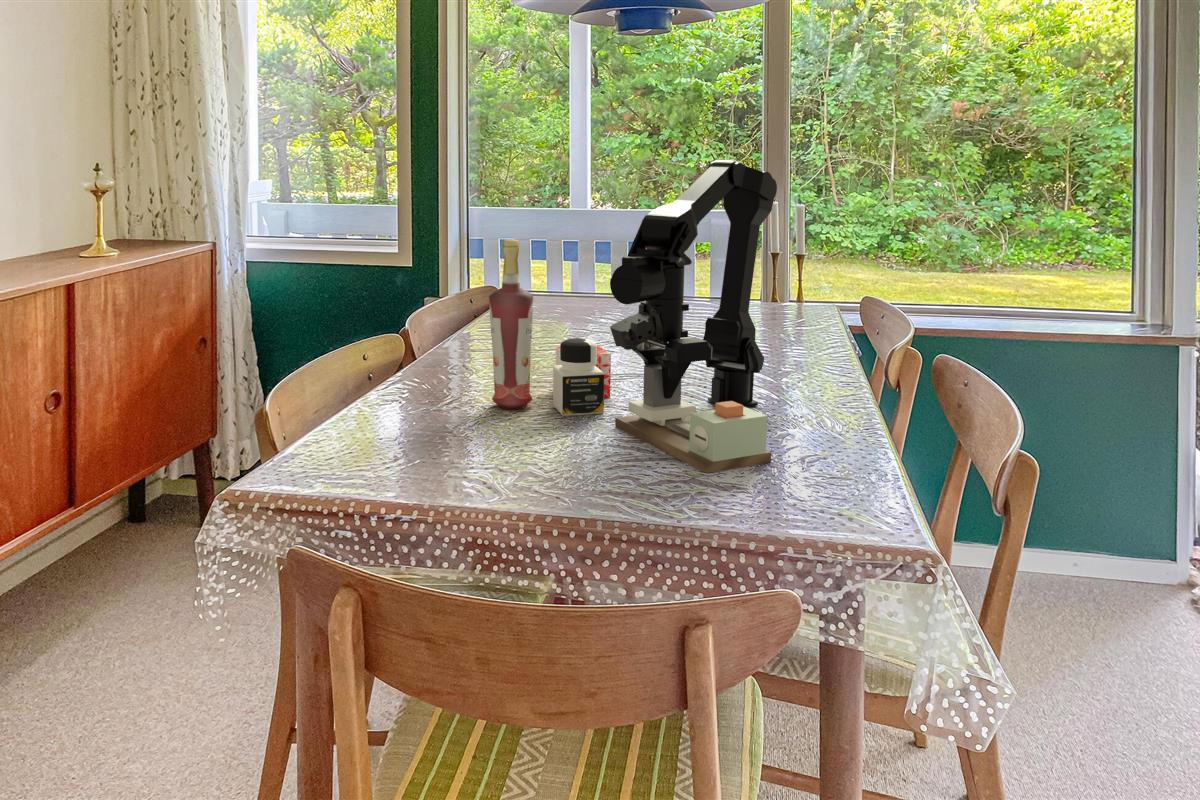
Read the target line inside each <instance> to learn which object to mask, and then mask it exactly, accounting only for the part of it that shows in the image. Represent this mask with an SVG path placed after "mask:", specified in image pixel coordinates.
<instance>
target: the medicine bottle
mask: <svg viewBox="0 0 1200 800" xmlns="http://www.w3.org/2000/svg"><path fill="white" fill-rule="evenodd" d="M597 345H598V344H597V343H596V342H595V341H594V340H592V339H589V338H582V337H579V338H578V337H577V338H576V337H575V338H574V337H573V338H567V339H565V340H563V341H561V343H560V344H559V346H560V364H561V365H556V364H555V365H554V366H553V367H552V405H553V407H554V408H555V409H556V410H557V411H558V412H559V413H560V415H562V416H563V417H570V416H585V415H602V414H603V415H604V411H605V407H604V406H605V403H604V402H605V398H604V373H603V372H602V371H601V370H600V369H599V368H597V367H596V366H595V365H596V359H597Z"/></svg>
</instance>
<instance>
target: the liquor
mask: <svg viewBox="0 0 1200 800" xmlns="http://www.w3.org/2000/svg"><path fill="white" fill-rule="evenodd" d="M501 243H502V254H503V270H502V271H503V272H502V281H501V282H502V283H501V287H500V288H499V289H495V290H494V291H493V292H492V293H491V294H490V295H489V296H488V301H489V302H488V303H489V304H488V305H489V317H490V318H489V321H490V335H491V348H492V361H493V362H492V363H493V387H494V394H493V396H492V398H491V400H492V402H493V403H495V404H496V405H497V406H498V407H499V408H500V409H502V410H512V411H513V410H520V409H521V410H522V409H524V408H525V407H527V406H528V405H529V404H530V403H531V402H532V401H533V397H532V395H531V357H532V356H531V355H532V353H531V352H532V336H533V311H534V310H533V308H534V295H533V294H532V293H530V291H528V290H527V289H524V288H521V282H520V281H521V280H520V273H519V262H518V257H519V251H520V248H519V246H520V245H519V244H520V243H519V240H518V239H504V240H502V241H501Z"/></svg>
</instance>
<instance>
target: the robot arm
mask: <svg viewBox="0 0 1200 800" xmlns="http://www.w3.org/2000/svg"><path fill="white" fill-rule="evenodd" d="M777 191H778V186H777V181H776V179H774V177H773V176H772V174H771V173H770V172H768V171H762V170H759V169H756V168H753V167H749V166H747V165H744V164H743V163H742V162H739V161H737V160H721V159H720V160H718V159H716V160H714V161H712V162H710V163H709V164H708V166H707V169H706V170H705V171H704V172H703V173H702V174H701V175H700V176H699V177H698V178H697V179H695V181H694V182H693V183H692V184H690V186H689V187H688V188H687V189H686V190H685V191H684V192H683V193H682V194H681V195H679V197H678V198H677V199H675V200H674V201H673V202H670V203H667V204H664V205H660V206H658V207H656V208H654V209H653V210H652V211H650V212H648V213H647V214H646V215H644V217H643V219H642V220H641V223H640V225H639V227H638V230H637V232H636V235H635V237H634V239H633V242H632V244H631V247H630V249H629V251H628V253H627V256H622V258H621V265H619V266H618V267H617V268H616V269H615V270H614V271H613V273H612V274H611V278H610V281H609V288H610V291H611V294H612V296H613V297H614V299H616V301H617V302H619V303H620V304H623V305H632V304H638V303H640V304H639V305H638V313H635V314H633V315H630V316H627V317H625V318H623V319H622V320H618V322H615V323H613V324H611V325H610V326H609V328H610V332H611V335H612V338H613V341H614V344H615V346H616V347H617V348H618V347H621V348H623V349H624V350H627V351H629V350H632V352H634V353H635V354H637V355H638V356H639V357H640V358H641V359H642V361H643V363H644V366H645V365H654V364H660V365H661V366H662V378H663V391H664V398H666V399H669V398H672V396H673V394H674V392H675V390H676V388H677V386H678V384H679V382H680V381H681V382H682V379H683V377H684V376H685V373H686V371H687V370H688V369H689V366H690V365H691V363H697V362H704V361H705V365H706V368H711V369H712V368H713V377H712V378H711V391H710V393H711V395H710V397H708V398H707V401H708V402H710V403H712V404H715V403H719V402H727V401H734V402H736V403H739V404H741V405H743V406H744V407H746V408H747V407H751V406H758V405H759V401H757V400H754V382H755V381H754V380H755V379H754V378H755V374H759V373H761V371H762V370H763V367H764V362H765V356H764V355H763V353H762V352H761V349H760V347H759V346H758V344H757V342H756V327H755V325H754V322H753V319H752V318H751V315H750V312H749V309H750V304H751V303H750V302H751V294H752V286H753V279H754V273H755V272H754V271H755V265H756V256H757V250H758V244H759V235H760V234H759V233H760V228H761V225H762V224H763V223H764V222H765V220H766V219H767V218H768V216H769V215H770V214H771V213H772V211H773V206H774V200H775V198H776V195H777ZM722 199H723V200H722ZM721 201H722V203H723V204H722V206H723V209H724V211H725V213H726V214H725V215H726V216H727V219H728V221H729V230H728V231H729V232H728V240H727V246H726V247H727V248H726V255H725V260H724V261H725V262H724V263H725V264H724V269H723V270H724V271H723V277H722V279H723V280H722V287H721V292H720V293H721V295H720V301H719V302H720V303H719V308H718V310H717V311H716V312H715V314H714V315H713V316H712V317H708V318H707V319H706V320H705V326H704V334H703V337H702V339H701V338H698V337H696V336H695V337H689V330H687V329H684V328H683V327H684V326H683V325H684V322H683V321H684V312H689V310H690V307H689V306H690V304H689V303H686V302H684V300H685V299H684V294H685V291H684V290H685V266H689V265H692V263H693V262H692V259H691V258H690V257H689V256H688V255H686V253H685V252H687V251H688V249H689V248H690V247H691V245H692V244H693V242H694V241H695V240H696V239H697V237H698V235H699V234H698V233H699V232H698V225H699V224H700V222H701V221H702V220H703V219H704V218H705V217H706V216H707V215H708V214H709V213H710V212H711V211H712V210H713V209H714V208H715V207H716V206H717V205H718V204H719V203H720V202H721Z"/></svg>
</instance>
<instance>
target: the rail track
mask: <svg viewBox="0 0 1200 800" xmlns="http://www.w3.org/2000/svg"><path fill="white" fill-rule="evenodd" d="M614 424H615V425H614V427H615V428H617V429H618V430H620V431H622V432H623V433H626V434H628V435H631V436H632V437H634V438H636V439H638V440H640V441H642V442H643V443H646V444H648V445H650V446H651V447H654V448H656V449H658V450H660V451H662V452H664V453H666V454H668V455H670V456H671V457H674V458H676V459H678V460H680V461H682V462H684V463H686V464H688V465H690V466H692V467H693V468H696V469H698V470H699V471H701V472H704V473H705V474H709V473H714V472H715V473H716V472H721V471H722V472H723V471H728V470H734V469H740V468H746V467H752V466H757V465H762V464H763V465H764V464H768V463H772V451H770V450H767V449H766V453H764V454H758V455H751V456H745V457H739V458H733V459H727V460H721V461H714V462H712V461H710V460H708V459H706V458H704V457H702V456H700V455H698V454H696V453H694V452H692V451H690V450H689V442H690V417H685V422H683V421H681V420H678V419H676V418H675V419H668V420H665V426H661V425H659V424H656V423H654V422H651V421H649V420H646V419H644V418H642V417H640V416H638V415H636V414H632V415H627V416H619V417H615V420H614Z"/></svg>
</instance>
